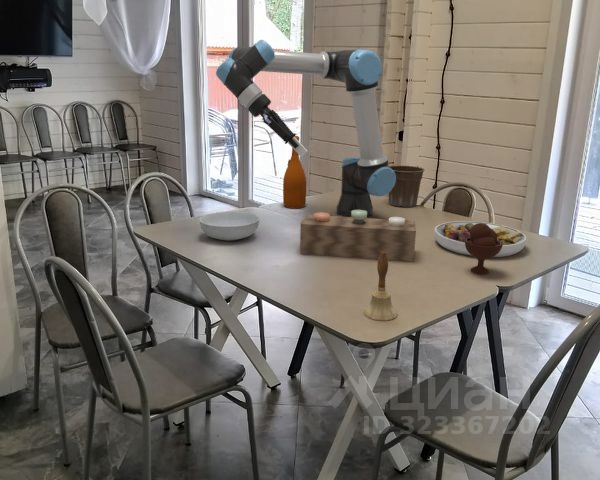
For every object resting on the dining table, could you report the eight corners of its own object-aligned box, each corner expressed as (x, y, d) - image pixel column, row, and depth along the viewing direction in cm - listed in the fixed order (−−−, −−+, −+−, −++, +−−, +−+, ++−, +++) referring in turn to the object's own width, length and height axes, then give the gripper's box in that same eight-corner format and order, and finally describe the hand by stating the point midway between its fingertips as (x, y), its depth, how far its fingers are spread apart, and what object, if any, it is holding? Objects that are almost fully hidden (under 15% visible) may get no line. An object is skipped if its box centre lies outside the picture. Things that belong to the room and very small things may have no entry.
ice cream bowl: (494, 280, 164) (500, 230, 160) (456, 272, 170) (461, 224, 165) (503, 270, 173) (509, 222, 168) (466, 263, 178) (471, 216, 174)
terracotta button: (312, 233, 185) (313, 215, 183) (315, 229, 190) (315, 211, 188) (328, 234, 184) (328, 216, 183) (329, 230, 189) (330, 212, 187)
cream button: (387, 238, 181) (388, 220, 180) (387, 234, 186) (389, 216, 184) (403, 239, 181) (404, 221, 179) (403, 235, 185) (404, 217, 184)
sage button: (350, 231, 183) (350, 213, 181) (351, 227, 187) (352, 209, 186) (365, 232, 182) (366, 214, 180) (366, 228, 187) (367, 210, 185)
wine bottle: (306, 204, 249) (308, 134, 240) (304, 209, 240) (306, 137, 231) (284, 203, 250) (285, 134, 241) (281, 208, 241) (282, 136, 232)
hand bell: (359, 317, 139) (363, 255, 134) (368, 304, 146) (371, 245, 141) (393, 323, 136) (398, 260, 131) (400, 310, 143) (405, 249, 138)
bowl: (452, 229, 216) (454, 209, 214) (534, 244, 200) (537, 222, 197) (419, 248, 193) (421, 226, 190) (509, 267, 176) (512, 243, 174)
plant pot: (401, 198, 263) (403, 163, 258) (429, 205, 251) (432, 169, 246) (376, 203, 253) (378, 167, 248) (404, 210, 241) (407, 172, 236)
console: (300, 253, 184) (300, 223, 181) (305, 242, 195) (306, 214, 192) (413, 261, 178) (415, 231, 176) (412, 250, 190) (415, 221, 187)
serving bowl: (251, 226, 213) (251, 209, 211) (266, 243, 194) (266, 223, 192) (195, 231, 207) (195, 212, 205) (205, 248, 188) (204, 228, 186)
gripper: (252, 107, 193) (299, 158, 196) (242, 110, 181) (293, 165, 183) (267, 91, 191) (315, 143, 193) (258, 93, 179) (309, 149, 181)
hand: (304, 154), depth 188 cm, fingers closed
